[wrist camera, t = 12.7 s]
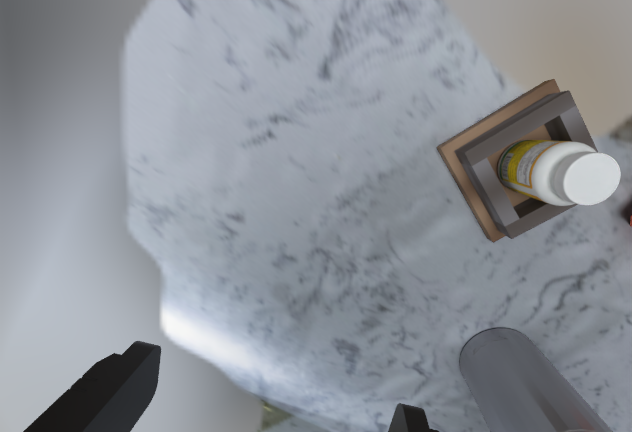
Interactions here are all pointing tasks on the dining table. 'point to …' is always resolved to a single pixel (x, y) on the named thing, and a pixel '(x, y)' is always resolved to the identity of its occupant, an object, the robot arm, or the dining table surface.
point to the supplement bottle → (559, 172)
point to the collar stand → (490, 143)
